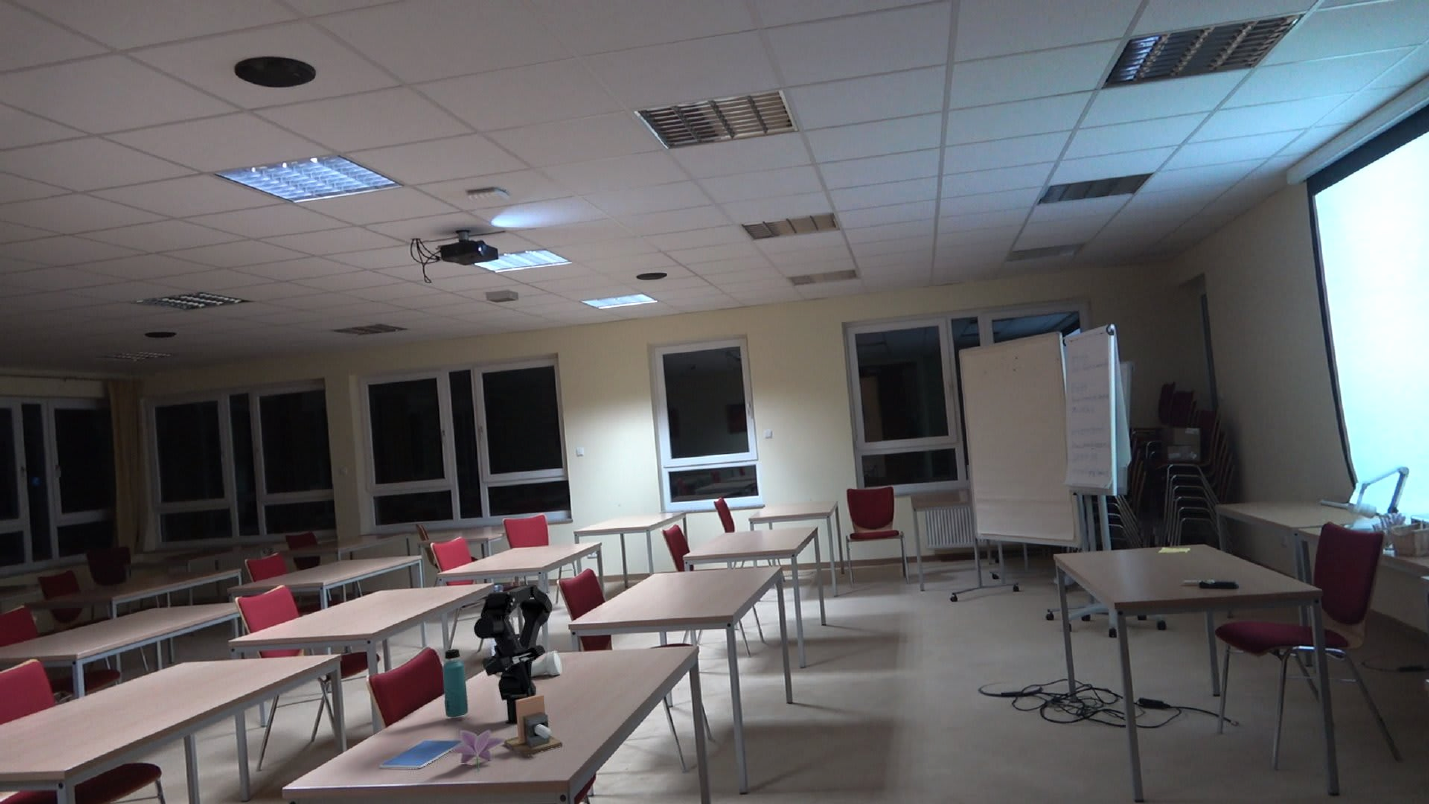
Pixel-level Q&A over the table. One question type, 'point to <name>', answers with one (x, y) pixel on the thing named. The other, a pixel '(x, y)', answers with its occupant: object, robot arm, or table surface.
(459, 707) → the beverage bottle
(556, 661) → the spotlight
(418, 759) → the tablet computer
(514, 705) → the robot arm
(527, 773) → the table surface
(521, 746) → the tan board
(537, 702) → the salmon pink upright block
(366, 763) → the table surface
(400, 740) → the table surface
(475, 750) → the lily
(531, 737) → the charcoal metal brick
